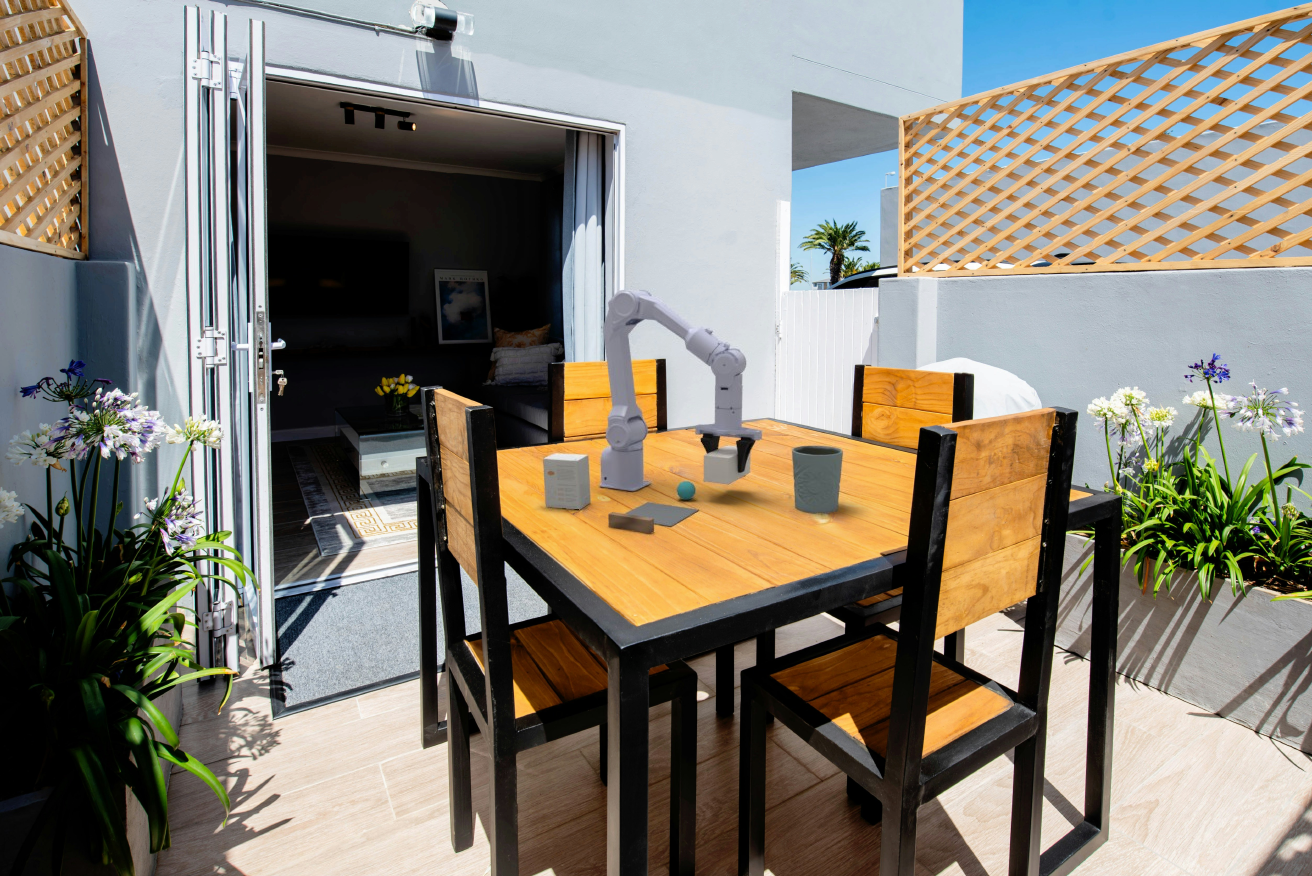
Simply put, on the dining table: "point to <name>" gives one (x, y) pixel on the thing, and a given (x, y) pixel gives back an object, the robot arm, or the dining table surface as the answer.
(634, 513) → the thin grey square plate
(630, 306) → the robot arm
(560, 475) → the small box
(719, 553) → the dining table surface
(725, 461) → the white rectangular block
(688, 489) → the ball
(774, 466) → the dining table surface
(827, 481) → the grey green tumbler
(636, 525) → the brown rectangular bar
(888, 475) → the dining table surface
